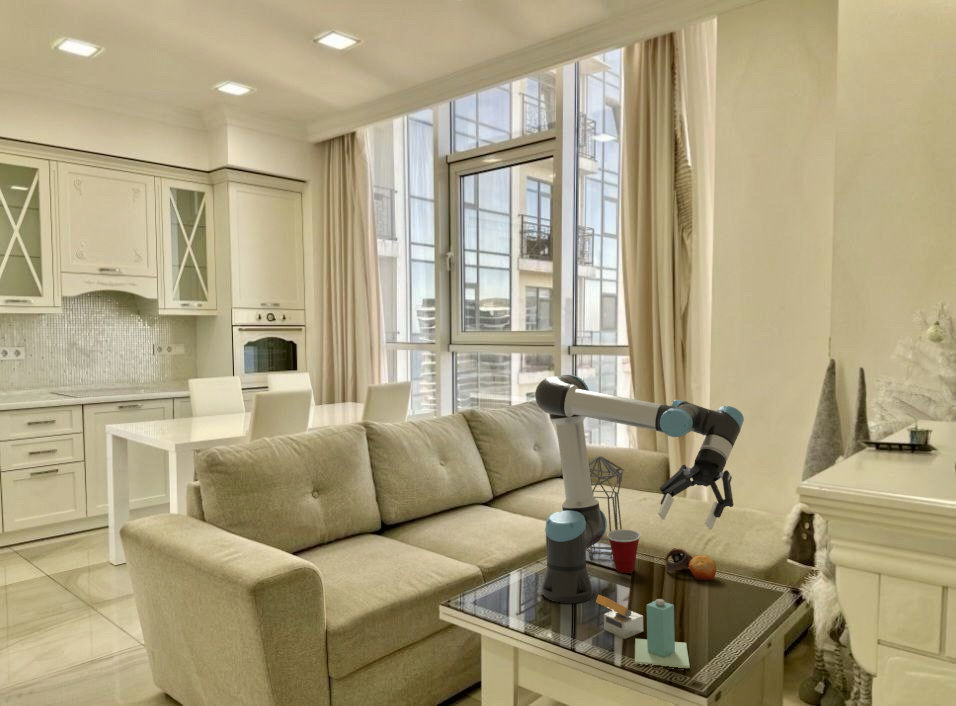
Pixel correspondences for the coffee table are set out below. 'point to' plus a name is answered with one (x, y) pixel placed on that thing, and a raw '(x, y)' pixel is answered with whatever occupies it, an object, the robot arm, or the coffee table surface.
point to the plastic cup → (624, 549)
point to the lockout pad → (672, 660)
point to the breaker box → (623, 624)
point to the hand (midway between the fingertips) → (683, 521)
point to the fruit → (703, 567)
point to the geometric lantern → (618, 474)
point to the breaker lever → (613, 606)
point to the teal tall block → (660, 628)
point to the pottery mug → (677, 560)
